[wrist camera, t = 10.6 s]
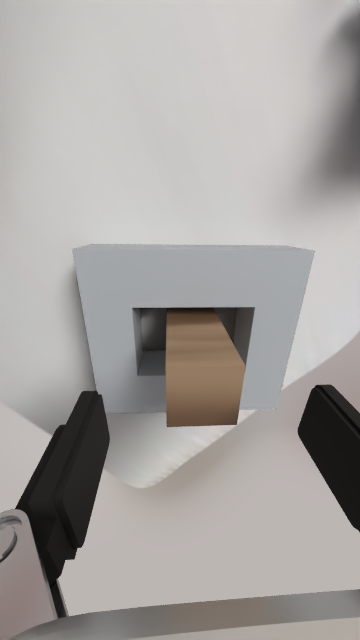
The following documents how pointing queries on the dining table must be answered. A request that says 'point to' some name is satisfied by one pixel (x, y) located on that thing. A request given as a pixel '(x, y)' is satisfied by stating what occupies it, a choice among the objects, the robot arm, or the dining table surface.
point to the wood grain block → (201, 369)
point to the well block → (188, 291)
